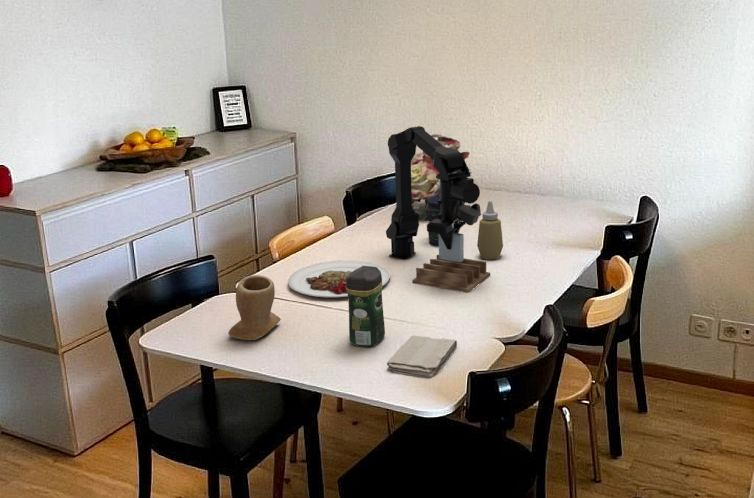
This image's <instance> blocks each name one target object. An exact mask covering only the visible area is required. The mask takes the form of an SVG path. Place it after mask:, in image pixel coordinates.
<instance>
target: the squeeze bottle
mask: <svg viewBox="0 0 754 498" xmlns="http://www.w3.org/2000/svg"><path fill="white" fill-rule="evenodd" d="M478 222H479V224H478V233H477V234H478V235H477V244H476V247H477V250H478V252H479V253H478V254H479V255H480V258H481V259H483V260H497V259H499V258H500V256H501V253H502V251H503V248H504V242H503V233H502V221H501V219H499V217H498V211H497V212H496V211H495V209H494V206H493V201H491V200H489V201H488V202H487V205H486V210H485V211H484V212H482V219H480V220H479V221H478Z"/></svg>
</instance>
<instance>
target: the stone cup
mask: <svg viewBox="0 0 754 498" xmlns="http://www.w3.org/2000/svg"><path fill="white" fill-rule="evenodd" d="M275 291H276V290H275V284H274V281H273V280H272V279H271V278H269V277H268V276H265V275H260V274H255V275H253V274H252V275H248V276H245V277H243V278H241V280H240V281H239V282H238V284H237V285H236V289H235V304H236V308H237V311H238V314H239V317H240V320H239V321H238V322H236V323H235V324H234V325H233V326H231V328H229V330H228V332H227V333H228V336H230V337H231V338H233V339H236V340H242V341H256V340H259V339H260V338H262V337H264V336H265V335H267V334H268V333H269V332H270V331H271V330H272V329H273V328H275V326H276V325H277V324H279V322H280V321H281V318H280V317H279V315H277V314H275V313H274V312H272V307H273V304H274V300H275V293H276V292H275Z"/></svg>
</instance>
